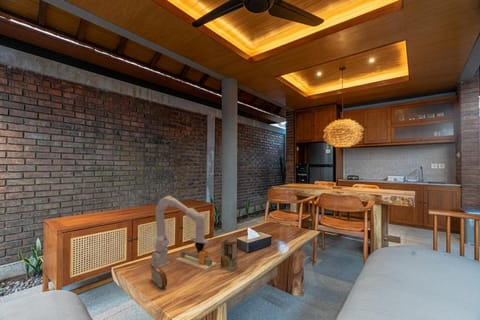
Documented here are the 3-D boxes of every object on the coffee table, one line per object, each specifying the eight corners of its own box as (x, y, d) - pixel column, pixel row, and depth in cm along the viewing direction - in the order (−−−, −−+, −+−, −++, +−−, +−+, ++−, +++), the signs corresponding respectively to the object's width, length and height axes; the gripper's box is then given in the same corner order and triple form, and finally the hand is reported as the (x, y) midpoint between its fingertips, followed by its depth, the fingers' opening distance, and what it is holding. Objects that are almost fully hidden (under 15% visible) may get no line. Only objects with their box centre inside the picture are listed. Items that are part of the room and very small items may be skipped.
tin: (167, 289, 115) (167, 273, 115) (161, 291, 113) (162, 275, 113) (155, 278, 126) (156, 263, 126) (150, 280, 124) (150, 265, 124)
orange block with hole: (208, 261, 145) (208, 250, 145) (203, 264, 141) (203, 253, 141) (203, 260, 147) (203, 249, 147) (198, 262, 143) (198, 251, 143)
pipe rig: (216, 264, 145) (216, 256, 145) (206, 270, 136) (206, 261, 136) (186, 255, 159) (186, 247, 159) (175, 260, 150) (176, 252, 151)
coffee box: (237, 267, 141) (238, 242, 141) (232, 271, 135) (232, 245, 136) (225, 264, 146) (226, 239, 146) (220, 267, 140) (220, 242, 141)
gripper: (212, 233, 146) (212, 254, 145) (196, 229, 154) (195, 249, 153) (205, 236, 140) (205, 257, 139) (188, 232, 148) (188, 252, 147)
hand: (199, 253), depth 146 cm, fingers closed
